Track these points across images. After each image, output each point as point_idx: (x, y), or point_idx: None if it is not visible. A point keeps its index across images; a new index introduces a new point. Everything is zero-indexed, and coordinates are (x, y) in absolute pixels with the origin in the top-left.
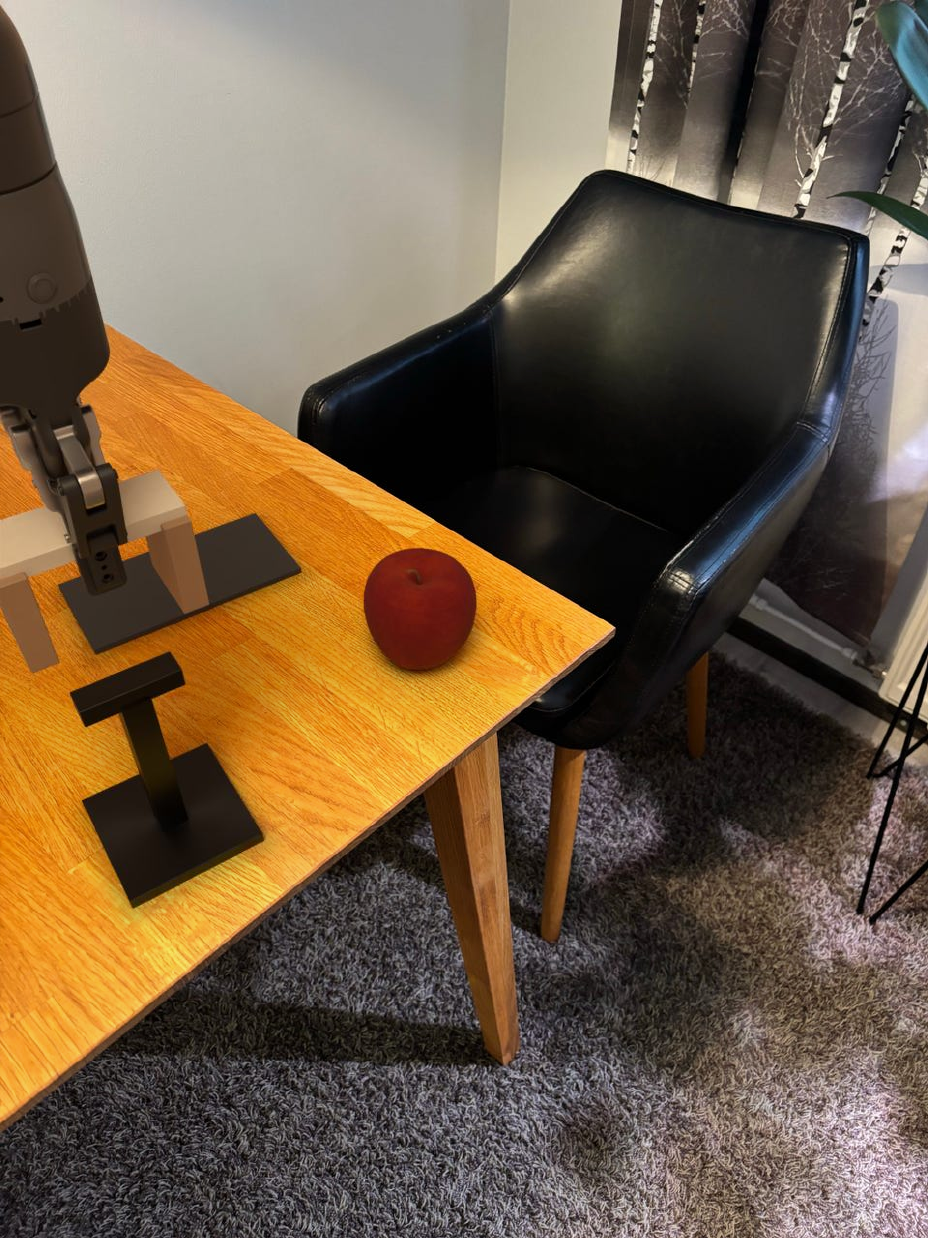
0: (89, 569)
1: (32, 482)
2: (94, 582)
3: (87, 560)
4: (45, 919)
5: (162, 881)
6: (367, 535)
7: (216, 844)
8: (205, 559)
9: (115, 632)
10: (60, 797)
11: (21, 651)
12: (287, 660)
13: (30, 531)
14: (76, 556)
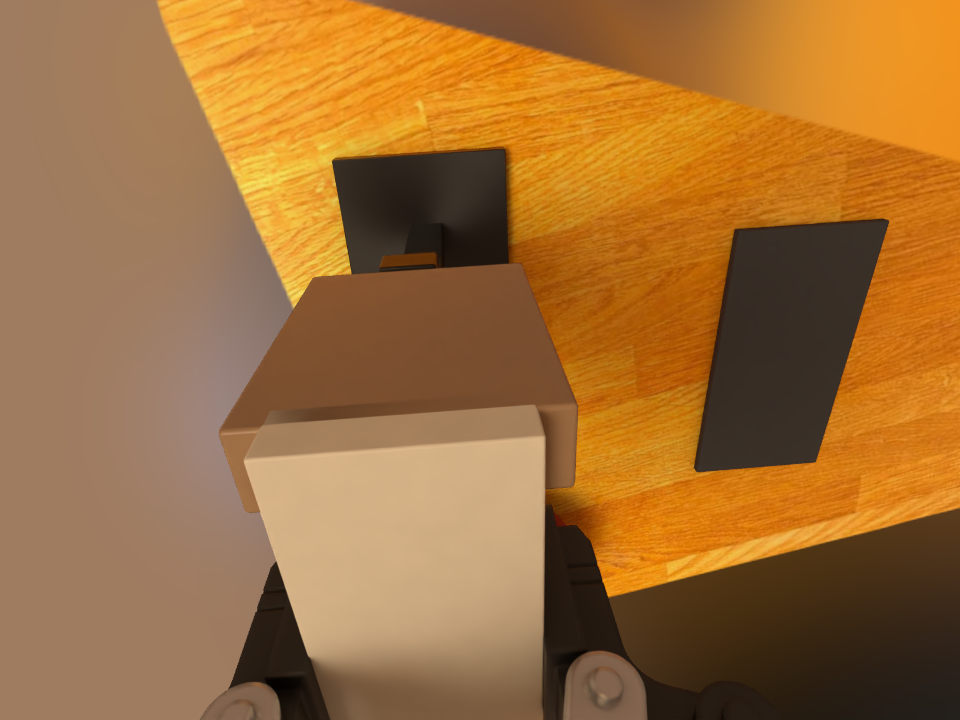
0: (273, 612)
1: (611, 687)
2: (272, 580)
3: (241, 657)
4: (364, 53)
5: (343, 203)
6: (697, 536)
7: (367, 272)
8: (786, 393)
9: (748, 264)
10: (535, 122)
11: (351, 285)
12: (582, 413)
13: (426, 587)
14: (277, 637)
